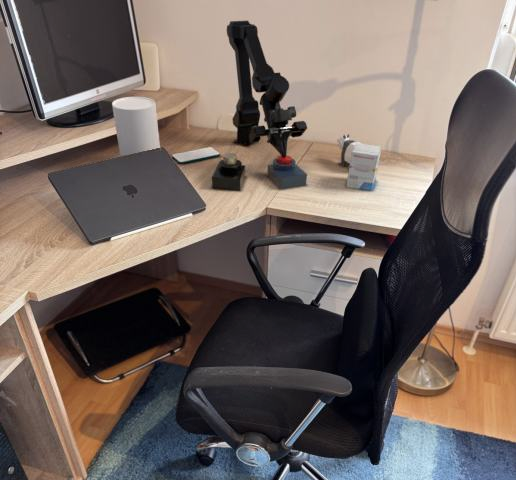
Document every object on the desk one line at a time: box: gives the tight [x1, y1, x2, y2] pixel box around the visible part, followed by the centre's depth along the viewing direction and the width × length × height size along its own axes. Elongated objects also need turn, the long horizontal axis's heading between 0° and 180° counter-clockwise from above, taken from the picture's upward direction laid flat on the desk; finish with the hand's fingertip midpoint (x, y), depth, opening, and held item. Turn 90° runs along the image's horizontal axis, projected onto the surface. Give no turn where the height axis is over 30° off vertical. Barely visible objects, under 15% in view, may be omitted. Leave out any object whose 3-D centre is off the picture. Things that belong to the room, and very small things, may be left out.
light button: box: [222, 152, 238, 166], centre depth 161 cm, size 4×4×3 cm
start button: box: [277, 154, 292, 165], centre depth 163 cm, size 4×4×3 cm
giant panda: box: [336, 134, 363, 167], centre depth 173 cm, size 15×6×10 cm, turn 29°
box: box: [267, 157, 308, 190], centre depth 164 cm, size 12×9×6 cm
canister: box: [111, 96, 161, 157], centre depth 165 cm, size 14×14×20 cm
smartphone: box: [171, 146, 221, 165], centre depth 178 cm, size 8×1×16 cm
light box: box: [211, 159, 246, 192], centre depth 161 cm, size 12×9×6 cm
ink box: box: [345, 142, 382, 192], centre depth 161 cm, size 8×8×12 cm
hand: (284, 156), depth 162 cm, fingers closed, pressing on start button
